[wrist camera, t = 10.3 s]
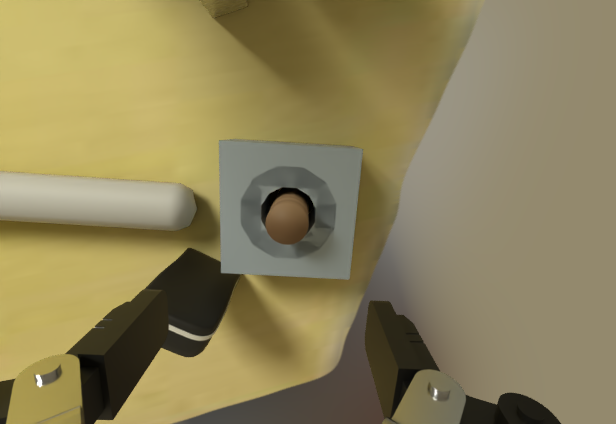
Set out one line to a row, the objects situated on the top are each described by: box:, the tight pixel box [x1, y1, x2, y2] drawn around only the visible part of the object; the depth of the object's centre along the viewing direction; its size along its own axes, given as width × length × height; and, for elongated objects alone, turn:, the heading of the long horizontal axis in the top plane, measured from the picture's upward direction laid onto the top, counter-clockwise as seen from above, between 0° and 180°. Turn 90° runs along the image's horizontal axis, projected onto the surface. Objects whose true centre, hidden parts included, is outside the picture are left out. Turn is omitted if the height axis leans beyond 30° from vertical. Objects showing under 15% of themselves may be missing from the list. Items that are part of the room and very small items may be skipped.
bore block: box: [219, 139, 363, 279], centre depth 29 cm, size 12×12×6 cm
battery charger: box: [145, 248, 240, 357], centre depth 29 cm, size 7×4×11 cm, turn 61°
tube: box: [0, 171, 197, 231], centre depth 30 cm, size 5×5×25 cm
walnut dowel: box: [265, 187, 309, 245], centre depth 28 cm, size 3×3×9 cm
